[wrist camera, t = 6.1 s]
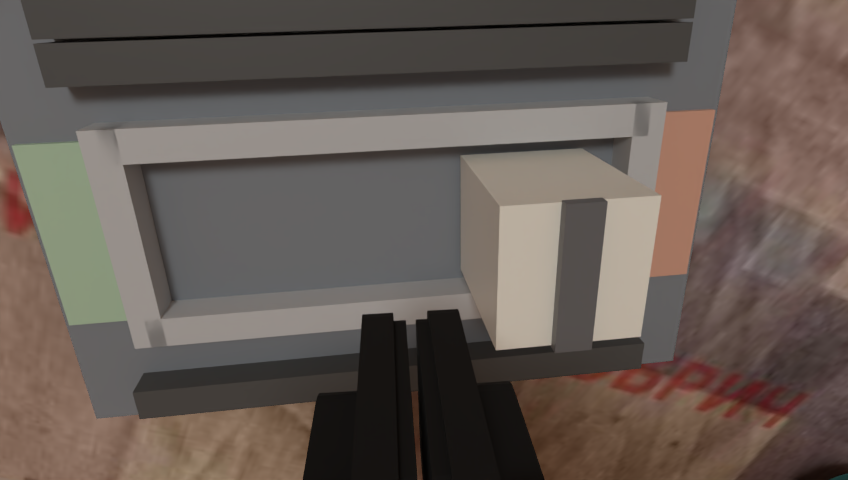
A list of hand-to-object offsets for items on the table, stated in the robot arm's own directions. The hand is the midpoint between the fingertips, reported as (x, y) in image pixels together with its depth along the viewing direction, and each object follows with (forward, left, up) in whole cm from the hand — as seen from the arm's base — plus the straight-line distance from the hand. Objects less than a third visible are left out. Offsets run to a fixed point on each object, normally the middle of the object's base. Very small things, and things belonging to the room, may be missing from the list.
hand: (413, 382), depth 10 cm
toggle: (-5, 0, -9) cm, 10 cm away
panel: (0, 0, -11) cm, 11 cm away
